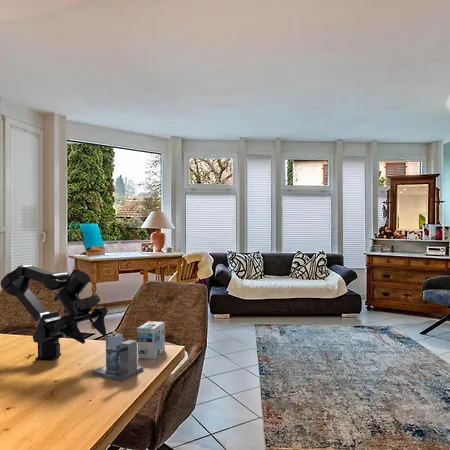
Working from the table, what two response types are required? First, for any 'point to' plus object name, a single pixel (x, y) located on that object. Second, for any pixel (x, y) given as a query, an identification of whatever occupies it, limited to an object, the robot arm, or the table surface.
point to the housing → (115, 358)
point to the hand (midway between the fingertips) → (95, 339)
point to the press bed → (122, 362)
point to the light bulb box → (151, 339)
